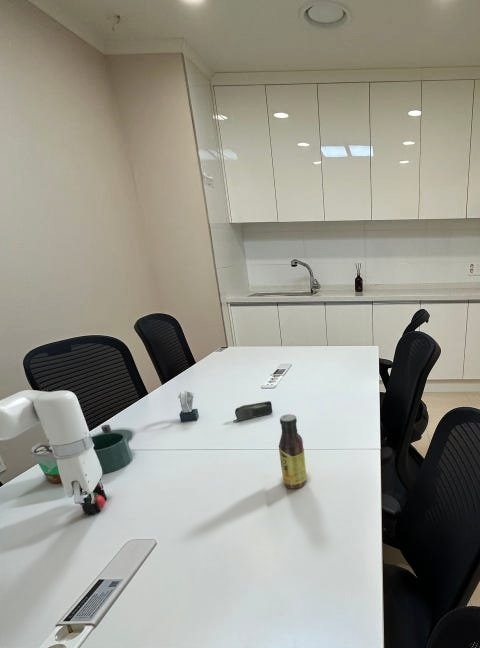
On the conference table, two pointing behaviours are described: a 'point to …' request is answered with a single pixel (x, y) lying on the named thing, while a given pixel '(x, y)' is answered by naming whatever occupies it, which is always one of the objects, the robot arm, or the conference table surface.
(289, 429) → the sauce bottle
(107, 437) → the pot
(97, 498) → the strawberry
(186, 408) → the stone sculpture
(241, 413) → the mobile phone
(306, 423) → the conference table surface
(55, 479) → the food container
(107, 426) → the lid
